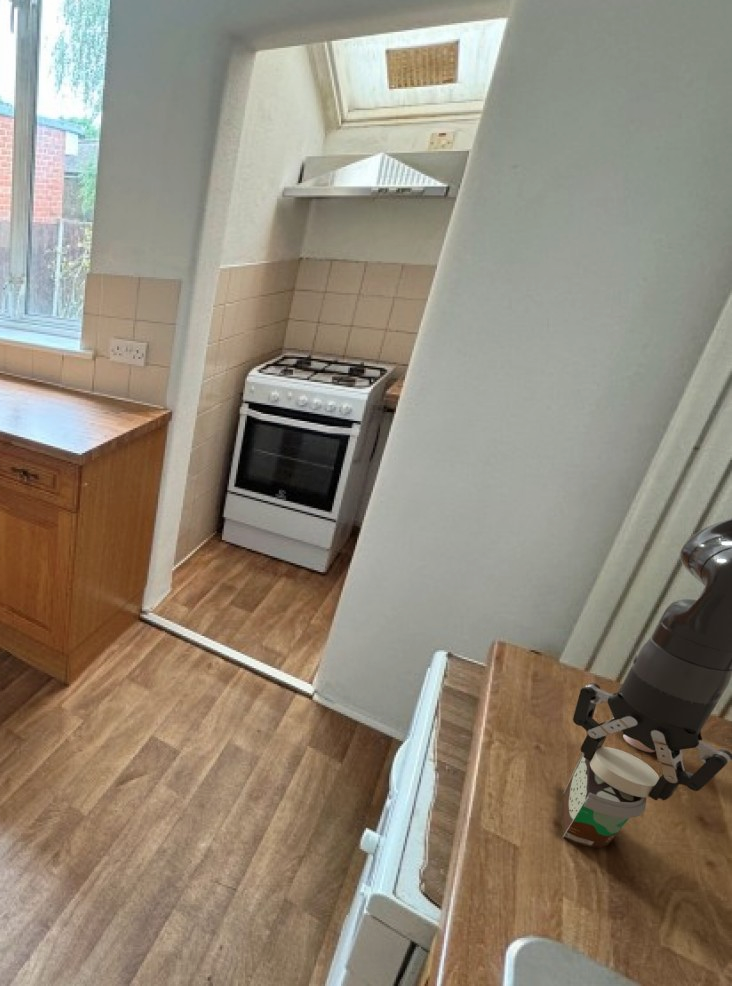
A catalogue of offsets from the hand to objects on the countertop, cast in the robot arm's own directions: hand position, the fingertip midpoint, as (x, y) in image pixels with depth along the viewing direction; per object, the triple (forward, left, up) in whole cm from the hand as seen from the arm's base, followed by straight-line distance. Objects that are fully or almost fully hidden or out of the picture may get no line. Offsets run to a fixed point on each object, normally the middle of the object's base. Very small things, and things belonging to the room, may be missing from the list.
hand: (620, 775), depth 81 cm
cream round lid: (0, 0, -1) cm, 1 cm away
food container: (0, 0, -11) cm, 11 cm away
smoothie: (+4, -27, -11) cm, 29 cm away
